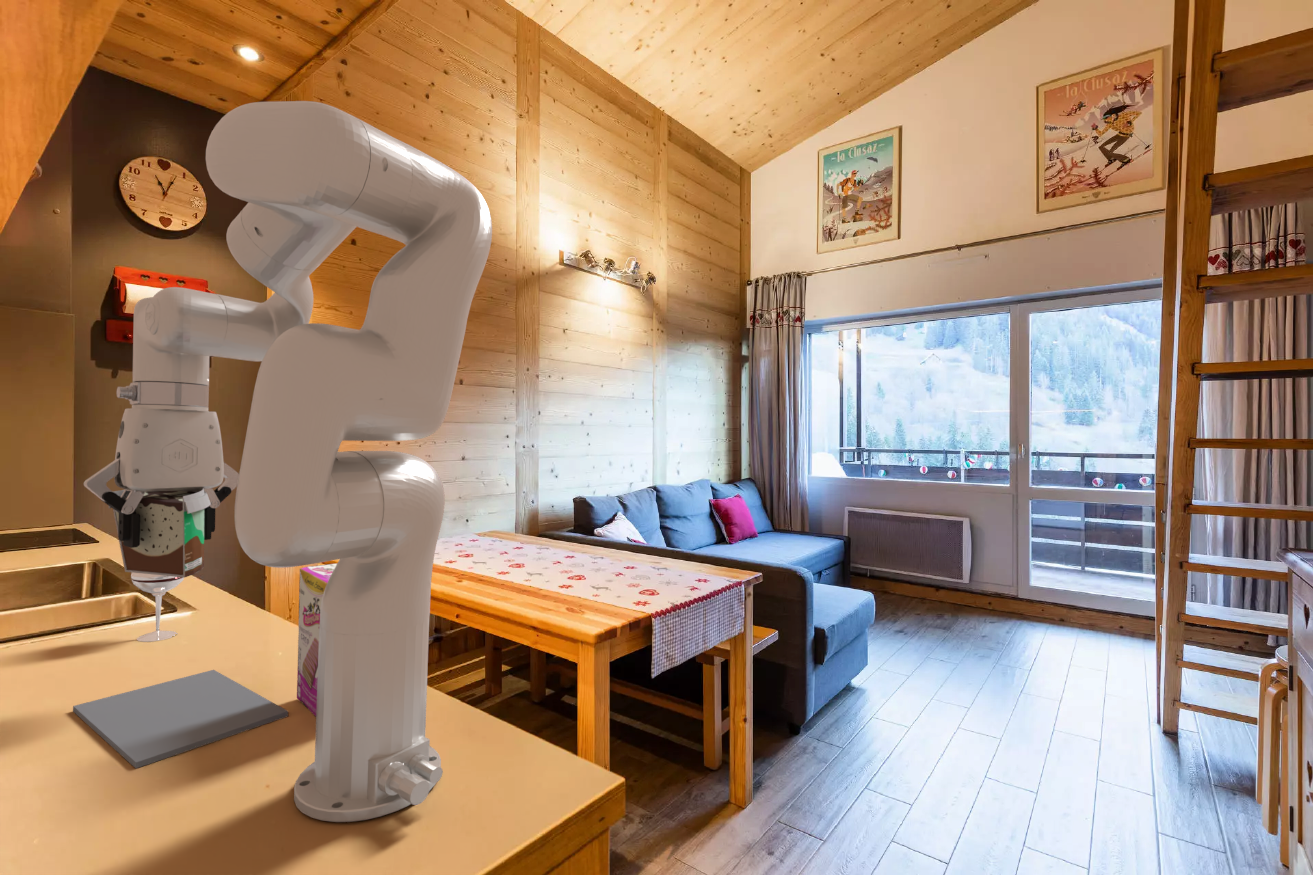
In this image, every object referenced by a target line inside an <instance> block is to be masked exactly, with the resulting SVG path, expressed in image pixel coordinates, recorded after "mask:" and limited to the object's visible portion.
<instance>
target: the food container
mask: <svg viewBox="0 0 1313 875" xmlns="http://www.w3.org/2000/svg"><path fill="white" fill-rule="evenodd" d="M124 490H125V489H122V490H121V489H120V490H115V491H113V492H114V493H116V494H117V495H118V496H120V497H121V495H122V493H123V492H124ZM210 505H211V503H210V500H209V498H208V495H207V493H206V492H205V491H204V488H202V489H191V490H170V491H146V492H145V494H144V496H143V497H142V499H141V500H140V502H139V504H138V505H137V507H136V513H137V514H139V515H140V545H139V546H138V547H134V548H130V547H127V546H124V544H123V541H120V540H119V539H118V543H119V550H120V553H121V559H122V563H123V569H124V572H125V573H132V572H133V573H143V574H153V575H164V576H174V577H184V579H185V578H188V577H190V576H192V575H195V574H196V573H198V572H200V571H202V570H203V569H204V568H205V540H204V508H207V507H208V506H210ZM108 509H112V510H113V518H114V523H115V527H116V532H117V533H116V534H118V524H119V513H118V512H116V511H115V510H114V509H113V508H111V507H110V506H109V505H108Z"/></svg>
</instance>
